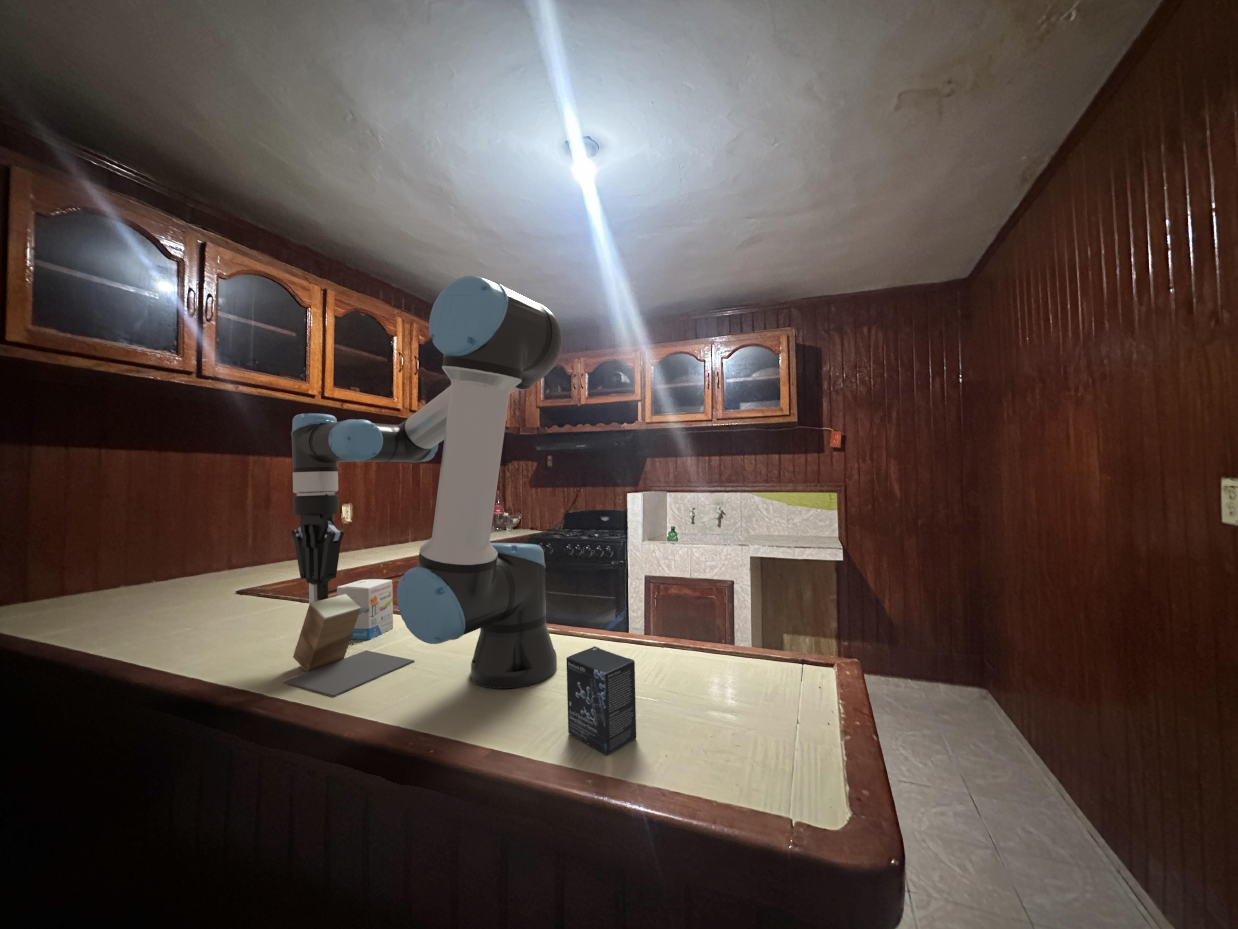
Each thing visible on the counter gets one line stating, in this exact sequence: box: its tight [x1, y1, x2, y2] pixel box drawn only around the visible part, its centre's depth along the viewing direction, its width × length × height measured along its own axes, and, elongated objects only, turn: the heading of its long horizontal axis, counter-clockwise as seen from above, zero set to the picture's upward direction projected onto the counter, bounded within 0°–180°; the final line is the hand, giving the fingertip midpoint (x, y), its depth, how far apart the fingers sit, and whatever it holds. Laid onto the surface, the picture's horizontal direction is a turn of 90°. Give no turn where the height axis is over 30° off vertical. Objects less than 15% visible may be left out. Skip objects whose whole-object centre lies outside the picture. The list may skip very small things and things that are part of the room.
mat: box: [282, 650, 415, 698], centre depth 89 cm, size 14×16×1 cm
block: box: [292, 594, 361, 673], centre depth 93 cm, size 5×7×12 cm
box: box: [565, 645, 637, 756], centre depth 65 cm, size 8×6×11 cm
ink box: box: [336, 578, 394, 641], centre depth 112 cm, size 9×8×12 cm
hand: (318, 616), depth 94 cm, fingers closed
